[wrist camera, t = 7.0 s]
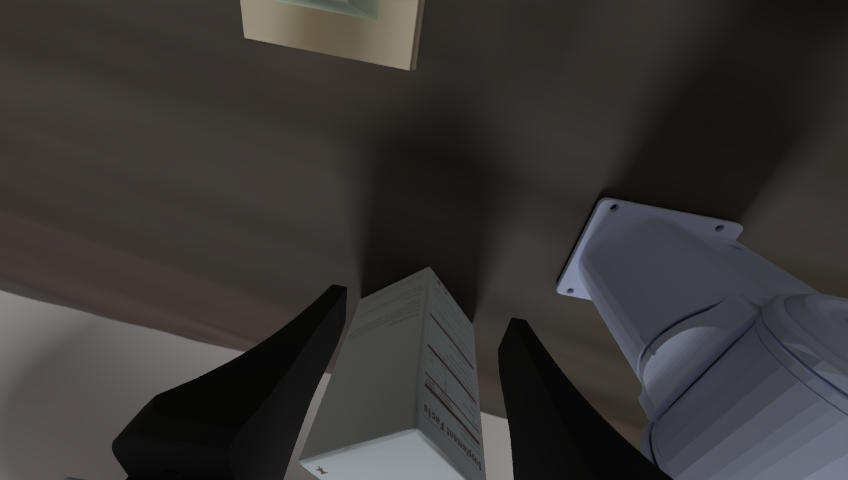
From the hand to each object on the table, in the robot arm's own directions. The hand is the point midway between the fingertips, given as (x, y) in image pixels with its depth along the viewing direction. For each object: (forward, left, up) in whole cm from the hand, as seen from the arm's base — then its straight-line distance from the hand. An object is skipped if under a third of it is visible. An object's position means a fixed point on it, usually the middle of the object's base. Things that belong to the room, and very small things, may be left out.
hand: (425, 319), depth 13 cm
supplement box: (0, +9, -10) cm, 14 cm away
